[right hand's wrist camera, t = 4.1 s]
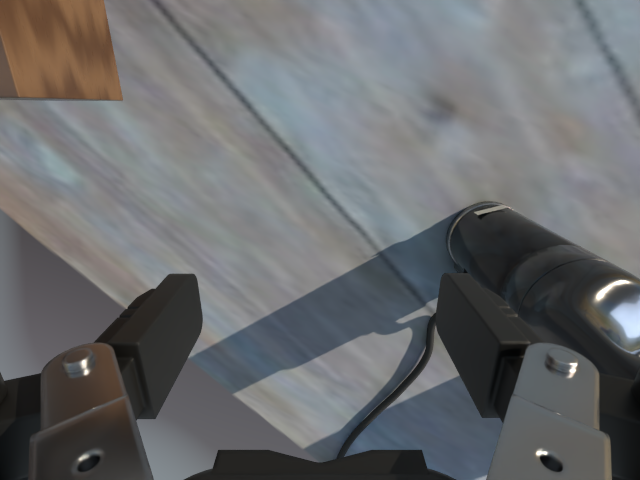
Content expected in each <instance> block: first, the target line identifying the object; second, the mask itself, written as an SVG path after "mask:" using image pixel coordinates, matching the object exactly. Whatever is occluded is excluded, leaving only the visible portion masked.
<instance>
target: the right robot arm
mask: <svg viewBox="0 0 640 480" xmlns="http://www.w3.org/2000/svg"><path fill="white" fill-rule="evenodd" d="M446 244H447V250H448V252H449V254H450V256H451V258H452V259H453V260H454V261H455V264H454V268H455V269H456V270H457V272H458V273H444V274H443V275H442V278H441V282H440V289H439V296H438V303H437V310H436V313H435V314H434V315H433V316H432V317H431V319H430V321H429V324H428V330H427V344H426V349H425V352H424V355H423V357H422V359H421V360H420V362H419V364H418V365H417V366H416V368H415V369H414V370H413V371H412V373H411V374H410V375H409V376H408V377H407V378H406V379H405V380H404V381H403V382H402V383H401V384H400V386H399V387H398V388H397V389H396V390H395V391H394V392H393V393H392V394H391V395H390V396H389V397H387V398H386V399H385V400H384V401H383V402H382V403H381V404H380V405H378V406H377V407H376V408H375V409H374V410H373V411H372V412H371V413H370V414H369V415H368V416H367V417H366V418H365V419H364V420H363V421H362V422H361V423H360V424H359V425H358V426H357V427H356V429H355V430H354V431H353V432H352V433H351V435H350V436H349V437H348V439H347V440H346V442H345V443H344V445H343V446H342V448H341V450H340V452H339V454H338V457H337V459H335V460H331V461H328V462H323V463H317V462H312V461H309V460H305V459H301V458H297V457H293V456H289V455H285V454H281V453H278V452H274V451H270V450H218V453H217V456H216V459H215V463H214V466H213V469H209V470H206V471H203V472H200V473H198V474H195V475H193V476H190V477H188V478H186V479H184V480H456V479H454V478H452V477H450V476H448V475H445V474H442V473H440V472H437V471H434V470H431V469H427V466H426V463H425V459H424V456H423V453H422V450H370V451H366V452H362V453H358V454H354V455H351V456H347V457H344V456H345V454H346V452H347V450H348V448H349V447H350V445H351V444H352V443H353V441H354V440H355V439H356V437H357V436H358V435H359V434H360V433H361V432H362V431H363V430H364V429H365V428H366V427H367V426H368V425H369V424H370V423H371V422H372V421H373V420H374V419H375V418H376V417H377V416H378V415H379V414H380V413H381V412H382V411H383V410H384V409H386V408H387V407H388V406H389V405H390V404H391V403H392V402H394V401H395V400H396V399H397V398H398V397H399V396H400V395H401V394H402V393H403V392H404V391H405V390H406V388H407V387H408V386H409V385H410V384H411V383H412V382H413V381H414V380H415V379H416V378H417V377H418V375H419V374H420V373H421V372H422V370H423V369H424V368H425V366H426V364H427V363H428V361H429V359H430V357H431V354H432V350H433V343H434V330H435V326H436V327H437V331H438V334H439V336H440V338H441V340H442V342H443V344H444V346H445V348H446V350H447V351H448V353H449V355H450V357H451V359H452V361H453V363H454V365H455V367H456V369H457V371H458V373H459V374H460V376H461V378H462V380H463V382H464V384H465V386H466V388H467V390H468V392H469V394H470V396H471V397H472V399H473V401H474V403H475V405H476V407H477V409H478V411H479V413H480V415H481V417H482V418H500V419H501V421H502V422H503V426H502V429H501V432H500V436H499V439H498V442H497V446H496V449H495V452H494V455H493V459H492V462H491V465H490V469H489V472H488V475H487V479H486V480H640V279H639V278H637V277H636V276H634V275H632V274H631V273H629V272H627V271H625V270H624V269H622V268H620V267H618V266H616V265H614V264H612V263H610V262H608V261H607V260H605V259H603V258H601V257H599V256H597V255H595V254H594V253H592V252H590V251H588V250H586V249H584V248H582V247H580V246H578V245H577V244H575V243H573V242H571V241H569V240H567V239H565V238H564V237H562V236H560V235H558V234H556V233H554V232H552V231H550V230H549V229H547V228H545V227H543V226H541V225H539V224H537V223H536V222H534V221H532V220H530V219H528V218H526V217H524V216H523V215H521V214H519V213H517V212H515V211H514V210H513V209H511V208H509V207H508V206H506V205H504V204H501V203H498V202H481V203H477V204H474V205H472V206H470V207H468V208H466V209H465V210H463V211H462V212H461V213H460V214H458V216H457V217H456V218H455V219H454V220H453V222H452V223H451V225H450V227H449V230H448V233H447V238H446ZM202 322H203V317H202V309H201V302H200V295H199V289H198V282H197V278H196V276H195V275H194V274H169V275H168V276H167V277H166V278H165V279H164V280H163V281H162V282H161V283H160V284H159V286H158V287H157V288H156V289H151V290H149V291H147V292H145V293H144V294H142V295H140V296H139V297H137V298H136V299H135V300H134V301H133V302H132V303H131V304H130V305H129V306H128V309H125V311H124V312H123V313H122V314H121V315H120V317H119V318H117V319H116V320H115V321H114V322H113V323H112V324H111V325H110V326H109V327H108V328H107V329H106V330H105V331H104V332H103V333H102V334H101V335H100V337H99V338H98V339H97V340H96V341H95V342H94V343H88V344H83V345H80V346H77V347H74V348H71V349H69V350H67V351H64V352H63V353H61V354H59V355H57V356H56V357H54V358H53V359H52V360H51V361H49V362H48V363H47V364H46V366H45V367H44V368H43V370H42V372H41V373H40V374H35V375H31V376H26V377H21V378H16V379H11V380H7V381H4V380H3V378H2V375H1V373H0V480H154V479H153V475H152V472H151V469H150V465H149V462H148V459H147V456H146V452H145V449H144V446H143V442H142V439H141V436H140V432H139V429H138V426H137V422H136V420H137V419H156V417H157V415H158V413H159V411H160V409H161V407H162V405H163V403H164V402H165V400H166V398H167V396H168V394H169V392H170V390H171V388H172V386H173V384H174V382H175V381H176V379H177V377H178V375H179V373H180V371H181V369H182V367H183V365H184V364H185V362H186V360H187V358H188V356H189V354H190V352H191V350H192V348H193V347H194V345H195V343H196V341H197V339H198V337H199V335H200V333H201V329H202Z"/></svg>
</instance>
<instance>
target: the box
mask: <svg viewBox="0 0 640 480" xmlns="http://www.w3.org/2000/svg"><path fill="white" fill-rule="evenodd" d="M0 99H1V100H50V101H122V100H123V98H122V92H121V87H120V82H119V77H118V72H117V67H116V62H115V56H114V51H113V46H112V41H111V36H110V31H109V26H108V20H107V15H106V10H105V5H104V0H0Z"/></svg>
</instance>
